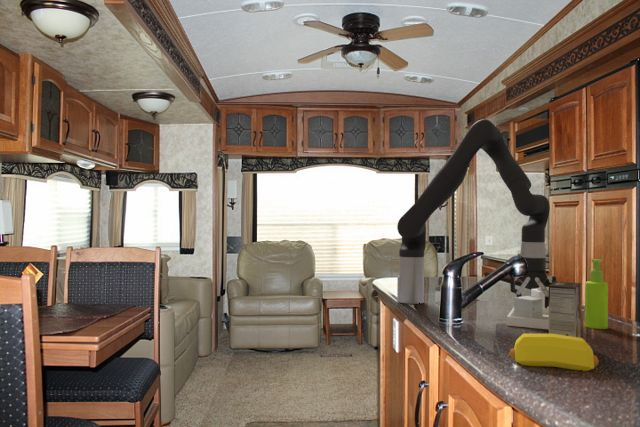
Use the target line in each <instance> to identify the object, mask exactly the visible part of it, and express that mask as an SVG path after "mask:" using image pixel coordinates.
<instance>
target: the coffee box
mask: <svg viewBox="0 0 640 427" xmlns="http://www.w3.org/2000/svg"><path fill="white" fill-rule="evenodd" d="M581 285H582V283H581V282H569V281H568V282H567V281H556V282H553V283H552V284H550V285H549V329H548V334H558V335H565V336H572V337H579V338H582V337H581V336H582V335H581V332H582V331H581V330H582V329H581V325H582V324H581V322H582V321H581V320H582V318H581V314H582V310H581V307H582V306H581V305H582V304H581V302H582V300H581V299H582V298H581V291H582V290H581V287H582V286H581Z"/></svg>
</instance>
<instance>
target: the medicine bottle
mask: <svg viewBox="0 0 640 427" xmlns="http://www.w3.org/2000/svg"><path fill="white" fill-rule="evenodd" d="M550 284H552V283H550V282H549V279H547V280H546V281H545V282H544V285H545V287H546V288H547V290H548V291H549V285H550ZM530 291H531V294H530V296H540V298H543V308H545V294H544V292H543V291H542V290H541V288H540V287H539V288H531V290H530ZM547 308H549V307H547Z"/></svg>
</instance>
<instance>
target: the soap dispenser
mask: <svg viewBox="0 0 640 427" xmlns="http://www.w3.org/2000/svg"><path fill="white" fill-rule="evenodd" d="M591 262H592V263H593V264H592V265H593V268H592V269H590V273H589V280H587V281H585V283H584V284H585V286H584V287H585V288H584V289H585V292H584V295H585V296H584V298H585V300H584V301H585V302H584V304H585V305H584V306H585V312H584V314H585V316H584V317H585V318H584V319H585V320H584V325H585V327H586V328H589V329H595V330H605V329H606V330H607V329H609V283H608V282H605V281H604V271H603V270H602V269H601V263H602V262H604V259H602V258H601V259H600V258H593V259H592V260H591Z"/></svg>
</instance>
